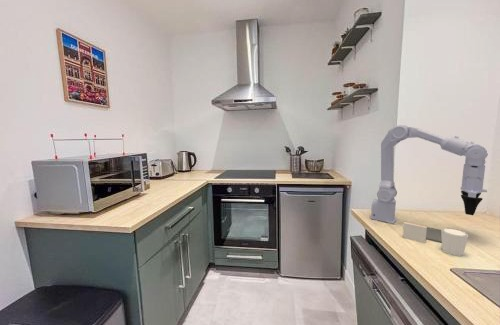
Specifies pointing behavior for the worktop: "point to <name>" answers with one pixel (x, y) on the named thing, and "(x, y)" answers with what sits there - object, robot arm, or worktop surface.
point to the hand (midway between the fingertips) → (469, 211)
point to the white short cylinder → (453, 241)
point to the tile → (415, 232)
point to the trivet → (434, 235)
